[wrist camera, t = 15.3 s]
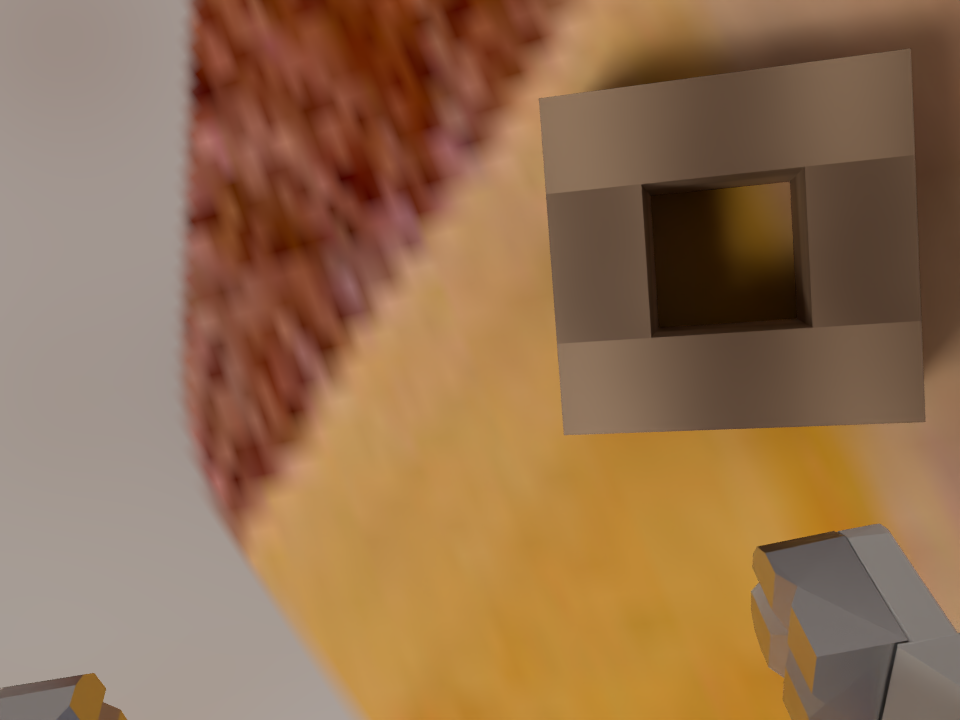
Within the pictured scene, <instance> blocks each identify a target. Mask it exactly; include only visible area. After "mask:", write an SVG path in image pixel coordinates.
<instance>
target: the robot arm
mask: <svg viewBox="0 0 960 720" xmlns="http://www.w3.org/2000/svg"><path fill="white" fill-rule="evenodd" d="M752 568H753V570H754V572H755V574H756V576H757V579H758V581H759V583H758V584H757V585H756V587H755V588H754V589H753V590H752V591H751V611H752V617H753V623H754V628H755V632H756V636H757V639H758V642H759V645H760V648H761V650H762V653H763V655H764V657H765V660H766V662H767V664H768V667H769V668H771V669H772V670H774V671H775V672H777V673H778V674H780V675H781V676H782V677H784V690H783V701H784V704H785V706H786V708H787V710H788V712H789V715H790V717H791V719H792V720H960V633H957V631H956V630H955V628H954V627H953V625H952V624H951V622H950V621H949V619H948V618H947V616H946V615H945V613H944V612H943V610H942V609H941V607H940V606H939V604H938V603H937V601H936V600H935V598H934V597H933V595H932V594H931V592H930V591H929V589H928V588H927V586H926V585H925V584H924V582H923V581H922V579H921V578H920V576H919V575H918V573H917V572H916V570H915V569H914V567H913V566H912V564H911V563H910V561H909V560H908V558H907V557H906V555H905V554H904V552H903V551H902V549H901V548H900V546H899V545H898V543H897V542H896V540H895V539H894V537H893V536H892V534H891V533H890V531H889V530H888V529H887V528H885V527H884V526H882V525H881V524H873V525H868V526H863V527H858V528H853V529H847V530H842V531H838V532H835V531H832V532H827V533H822V534H817V535H812V536H807V537H802V538H797V539H792V540H787V541H782V542H777V543H772V544H768V545H763V546H758V547H756V549H755V551H754V553H753V565H752ZM105 691H106V688H105V686H104V685H103V684H102V683H101V681H100V680H99V679H98V678H97V676H96V675H95V674H94V673H92V674H85V675H78V676H72V677H66V678H60V679H54V680H47V681H41V682H35V683H28V684H22V685H16V686H10V687H4V688H0V720H127V719H126V717H125V716H124V714H123V713H122V711H121V710H120V709H118V708H115V707H113V706H111V705H108V704H106V703H104V702H103V699H104V695H105Z"/></svg>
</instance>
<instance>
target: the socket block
mask: <svg viewBox="0 0 960 720" xmlns="http://www.w3.org/2000/svg"><path fill="white" fill-rule="evenodd" d="M539 105H540V119H541V132H542V146H543V159H544V173H545V186H546V200H547V213H548V226H549V240H550V253H551V267H552V280H553V294H554V307H555V321H556V334H557V348H558V361H559V375H560V388H561V402H562V415H563V428H564V435H581V434H609V433H636V432H664V431H692V430H719V429H747V428H774V427H802V426H830V425H857V424H885V423H912V422H925V397H924V372H923V346H922V320H921V295H920V269H919V243H918V218H917V192H916V166H915V141H914V115H913V89H912V64H911V48H910V49H903V50H895V51H888V52H881V53H873V54H866V55H858V56H851V57H843V58H836V59H829V60H821V61H814V62H806V63H799V64H791V65H784V66H777V67H769V68H762V69H754V70H747V71H739V72H732V73H725V74H717V75H710V76H702V77H695V78H687V79H680V80H673V81H665V82H658V83H650V84H643V85H635V86H628V87H621V88H613V89H606V90H598V91H591V92H583V93H576V94H569V95H561V96H554V97H546V98H539ZM780 182H790V190H791V209H792V229H793V249H794V268H795V288H796V308H797V319H783V320H768V321H752V322H737V323H722V324H707V325H691V326H676V327H661V328H659V319H658V303H657V288H656V272H655V257H654V241H653V226H652V210H651V196H654V195H664V194H673V193H683V192H693V191H703V190H712V189H722V188H732V187H741V186H751V185H761V184H771V183H780Z"/></svg>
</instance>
